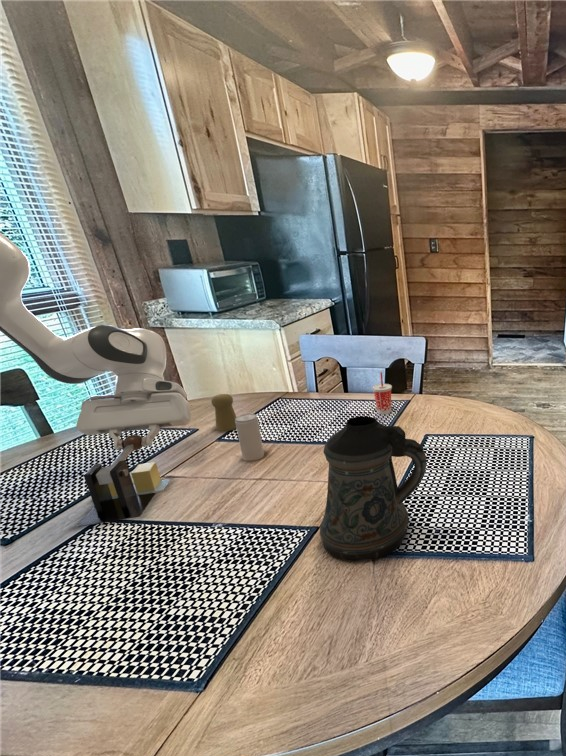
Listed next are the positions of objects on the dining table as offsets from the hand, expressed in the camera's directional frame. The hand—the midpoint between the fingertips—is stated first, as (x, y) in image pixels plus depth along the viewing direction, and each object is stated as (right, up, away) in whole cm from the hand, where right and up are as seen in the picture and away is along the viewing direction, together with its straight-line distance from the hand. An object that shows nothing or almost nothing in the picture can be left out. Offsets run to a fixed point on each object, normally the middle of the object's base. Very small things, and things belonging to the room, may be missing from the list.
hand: (133, 447), depth 95 cm
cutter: (+4, -13, -8) cm, 15 cm away
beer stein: (+59, -16, -11) cm, 62 cm away
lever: (+2, -3, -4) cm, 6 cm away
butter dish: (+1, -10, -1) cm, 10 cm away
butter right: (+4, -9, 0) cm, 10 cm away
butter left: (-1, -9, -2) cm, 10 cm away
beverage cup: (+43, +5, +46) cm, 63 cm away
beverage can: (+19, -6, +14) cm, 24 cm away
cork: (+1, +1, +30) cm, 30 cm away
